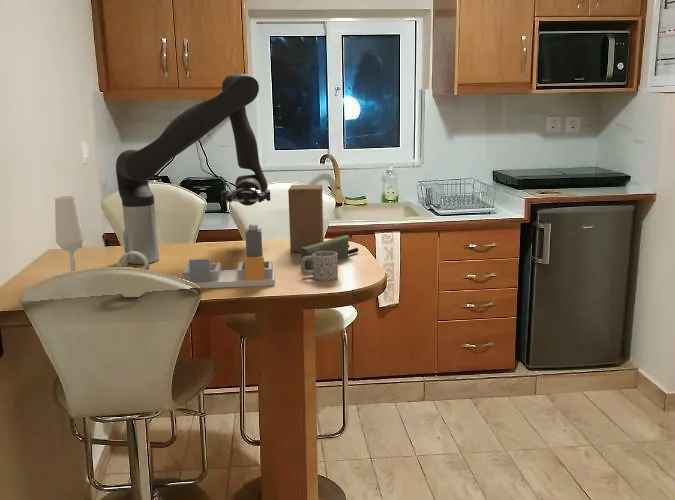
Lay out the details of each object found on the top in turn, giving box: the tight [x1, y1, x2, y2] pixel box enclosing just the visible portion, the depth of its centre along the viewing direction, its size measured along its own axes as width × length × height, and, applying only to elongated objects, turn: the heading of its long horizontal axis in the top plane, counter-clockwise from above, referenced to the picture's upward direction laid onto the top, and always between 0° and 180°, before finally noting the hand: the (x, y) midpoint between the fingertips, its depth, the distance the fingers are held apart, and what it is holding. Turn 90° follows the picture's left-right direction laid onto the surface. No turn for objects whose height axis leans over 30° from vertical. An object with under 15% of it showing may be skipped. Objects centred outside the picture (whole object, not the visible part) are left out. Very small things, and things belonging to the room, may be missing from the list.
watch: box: [115, 251, 150, 271], centre depth 169 cm, size 6×8×11 cm
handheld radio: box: [300, 234, 359, 271], centre depth 199 cm, size 7×3×25 cm
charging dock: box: [182, 256, 276, 289], centre depth 179 cm, size 24×12×8 cm, turn 95°
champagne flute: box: [54, 195, 85, 273], centre depth 174 cm, size 7×7×24 cm
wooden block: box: [287, 183, 325, 253], centre depth 214 cm, size 10×10×20 cm
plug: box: [245, 223, 264, 257], centre depth 179 cm, size 4×4×14 cm
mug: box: [300, 251, 339, 282], centre depth 181 cm, size 10×7×7 cm, turn 77°
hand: (244, 198), depth 193 cm, fingers open, 8 cm apart
